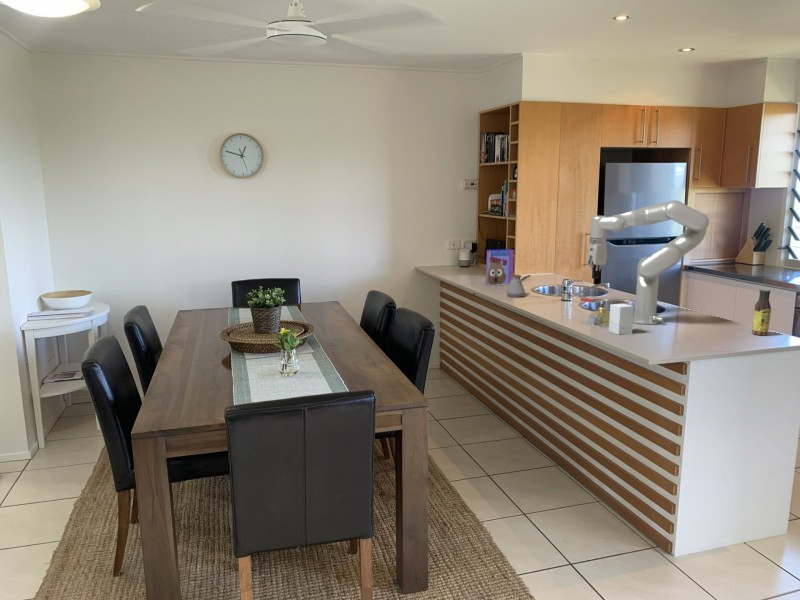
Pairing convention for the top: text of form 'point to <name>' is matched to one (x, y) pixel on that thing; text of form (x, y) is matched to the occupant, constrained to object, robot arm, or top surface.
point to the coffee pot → (516, 286)
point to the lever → (593, 301)
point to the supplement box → (621, 319)
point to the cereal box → (499, 266)
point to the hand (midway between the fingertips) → (595, 278)
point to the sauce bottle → (762, 314)
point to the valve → (598, 318)
